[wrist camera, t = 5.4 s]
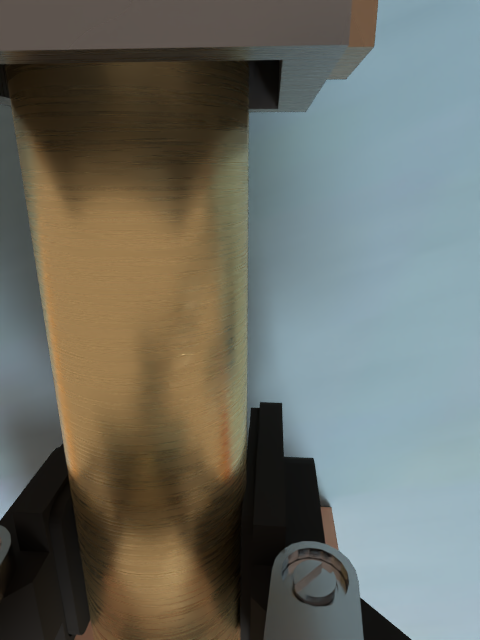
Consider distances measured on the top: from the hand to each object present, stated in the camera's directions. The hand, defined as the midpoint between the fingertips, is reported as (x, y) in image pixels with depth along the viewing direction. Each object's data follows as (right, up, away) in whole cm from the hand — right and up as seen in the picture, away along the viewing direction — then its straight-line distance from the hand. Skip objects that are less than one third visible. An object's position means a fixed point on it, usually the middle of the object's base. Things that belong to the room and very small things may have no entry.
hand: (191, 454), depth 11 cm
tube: (0, +1, -2) cm, 2 cm away
